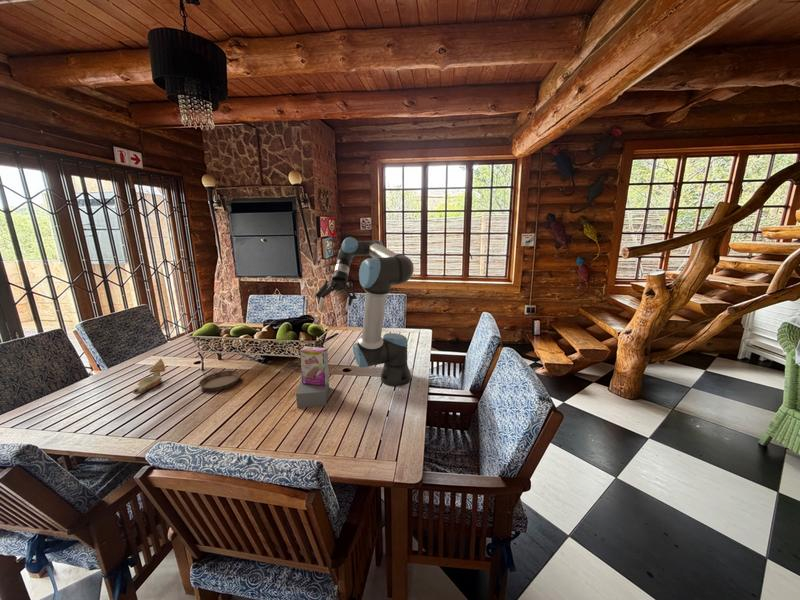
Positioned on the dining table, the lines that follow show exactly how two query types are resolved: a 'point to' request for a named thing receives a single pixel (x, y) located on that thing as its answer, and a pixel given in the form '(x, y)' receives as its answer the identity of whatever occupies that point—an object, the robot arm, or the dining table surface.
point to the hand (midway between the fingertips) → (332, 310)
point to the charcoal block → (311, 395)
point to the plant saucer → (219, 380)
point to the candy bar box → (314, 365)
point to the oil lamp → (151, 378)
